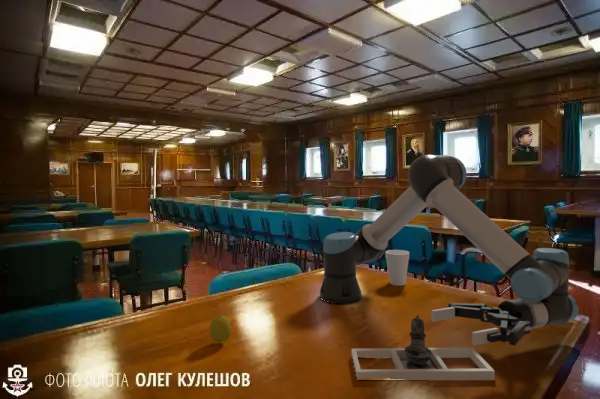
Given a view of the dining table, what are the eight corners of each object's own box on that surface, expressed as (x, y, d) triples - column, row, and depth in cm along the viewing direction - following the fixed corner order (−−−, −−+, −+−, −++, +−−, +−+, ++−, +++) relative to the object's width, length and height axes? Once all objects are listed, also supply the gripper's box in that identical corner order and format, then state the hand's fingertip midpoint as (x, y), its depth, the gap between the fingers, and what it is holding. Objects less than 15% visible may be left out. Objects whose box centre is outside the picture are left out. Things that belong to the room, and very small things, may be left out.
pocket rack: (356, 380, 76) (356, 371, 76) (351, 356, 86) (351, 348, 86) (494, 380, 75) (494, 370, 74) (472, 355, 85) (472, 347, 85)
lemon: (235, 340, 97) (234, 312, 96) (224, 349, 91) (223, 319, 91) (217, 338, 98) (216, 310, 98) (206, 347, 93) (205, 317, 93)
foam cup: (383, 280, 149) (382, 250, 148) (404, 279, 149) (403, 249, 149) (390, 287, 139) (390, 255, 138) (413, 286, 140) (412, 254, 139)
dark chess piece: (427, 359, 83) (427, 310, 82) (434, 373, 77) (434, 320, 76) (402, 359, 84) (401, 309, 83) (407, 372, 78) (406, 319, 77)
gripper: (571, 351, 77) (494, 368, 71) (482, 311, 101) (418, 321, 95) (572, 317, 76) (494, 332, 70) (482, 285, 100) (418, 294, 94)
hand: (451, 326), depth 82 cm, fingers open, 13 cm apart
